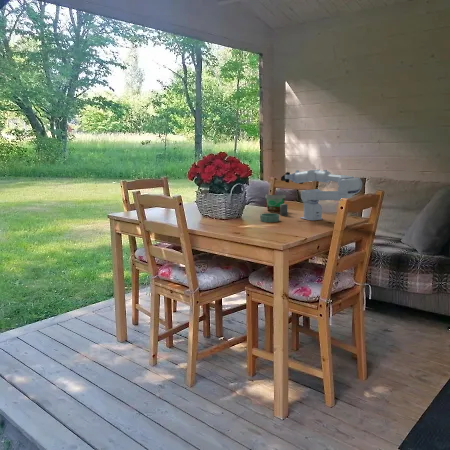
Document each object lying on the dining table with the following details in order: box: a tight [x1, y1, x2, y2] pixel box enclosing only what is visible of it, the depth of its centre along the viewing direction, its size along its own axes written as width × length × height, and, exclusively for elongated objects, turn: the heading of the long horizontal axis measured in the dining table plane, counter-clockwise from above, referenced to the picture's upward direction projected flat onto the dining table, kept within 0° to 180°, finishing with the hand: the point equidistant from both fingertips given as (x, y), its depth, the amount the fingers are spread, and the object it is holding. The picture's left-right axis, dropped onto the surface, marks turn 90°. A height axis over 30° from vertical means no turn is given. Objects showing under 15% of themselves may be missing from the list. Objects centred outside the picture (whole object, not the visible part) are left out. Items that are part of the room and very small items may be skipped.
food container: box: [264, 193, 287, 213], centre depth 272 cm, size 12×6×10 cm, turn 73°
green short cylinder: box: [259, 212, 280, 223], centre depth 245 cm, size 10×10×3 cm
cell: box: [279, 203, 288, 217], centre depth 260 cm, size 4×4×6 cm
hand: (286, 179), depth 261 cm, fingers open, 7 cm apart
